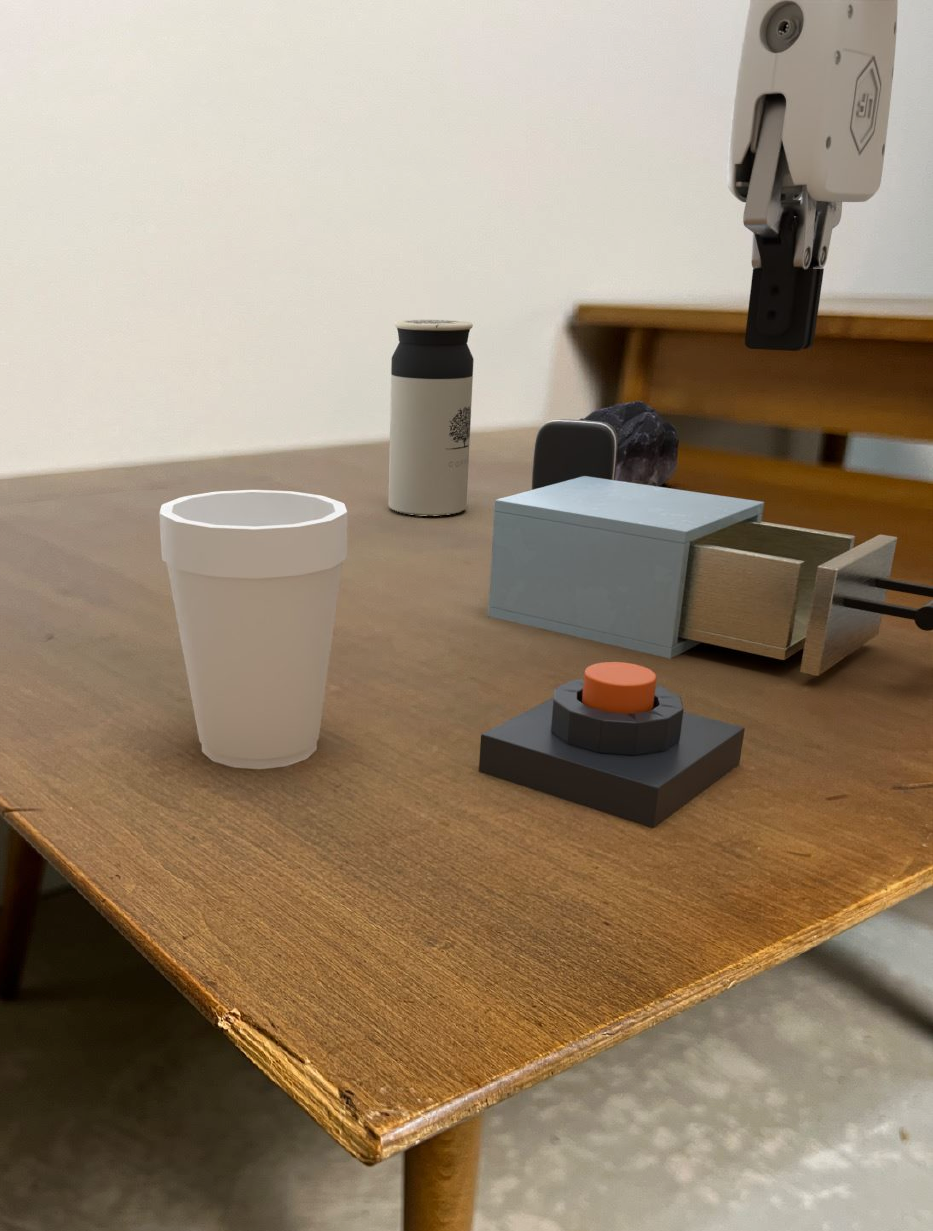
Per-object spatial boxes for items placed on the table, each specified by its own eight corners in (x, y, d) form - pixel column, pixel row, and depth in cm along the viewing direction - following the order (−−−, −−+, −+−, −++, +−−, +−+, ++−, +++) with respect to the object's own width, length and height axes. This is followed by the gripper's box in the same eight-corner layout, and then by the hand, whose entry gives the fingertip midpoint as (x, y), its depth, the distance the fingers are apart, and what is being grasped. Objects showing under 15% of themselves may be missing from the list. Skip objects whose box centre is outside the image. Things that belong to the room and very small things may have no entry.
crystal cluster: (547, 476, 143) (547, 391, 139) (661, 468, 143) (665, 382, 138) (560, 508, 132) (560, 416, 127) (685, 500, 131) (690, 407, 126)
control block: (739, 765, 64) (750, 695, 62) (653, 829, 57) (662, 752, 55) (575, 719, 70) (581, 654, 68) (478, 772, 63) (482, 701, 61)
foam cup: (136, 754, 64) (119, 511, 59) (244, 703, 71) (238, 483, 66) (277, 797, 59) (273, 538, 54) (378, 739, 66) (383, 504, 61)
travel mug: (372, 508, 123) (375, 320, 115) (427, 498, 127) (433, 318, 120) (426, 521, 117) (433, 325, 110) (482, 510, 122) (492, 322, 115)
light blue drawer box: (747, 618, 89) (764, 501, 85) (670, 659, 80) (686, 531, 76) (574, 582, 97) (583, 475, 94) (487, 616, 88) (494, 499, 85)
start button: (665, 703, 62) (668, 671, 61) (632, 723, 59) (635, 690, 59) (603, 687, 64) (606, 656, 63) (568, 706, 61) (571, 673, 61)
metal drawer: (967, 652, 79) (991, 550, 76) (914, 698, 71) (938, 586, 68) (695, 598, 90) (707, 507, 87) (622, 632, 82) (633, 534, 79)
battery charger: (610, 551, 107) (624, 419, 102) (603, 560, 104) (617, 425, 99) (533, 543, 109) (543, 414, 105) (524, 553, 106) (534, 420, 101)
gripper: (858, -100, 50) (796, 364, 57) (955, -45, 60) (892, 341, 68) (688, -73, 54) (652, 356, 62) (807, -26, 65) (763, 335, 72)
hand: (778, 347), depth 65 cm, fingers closed
